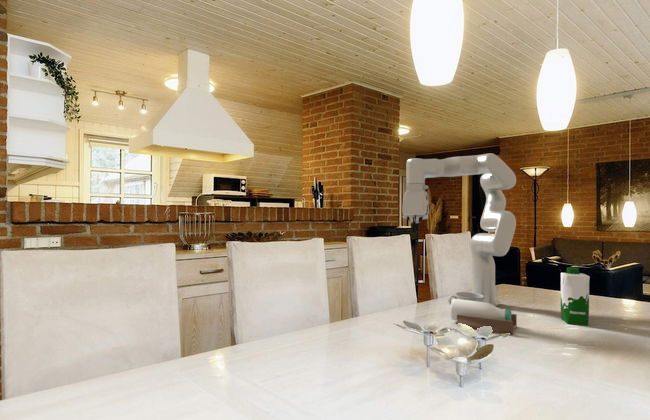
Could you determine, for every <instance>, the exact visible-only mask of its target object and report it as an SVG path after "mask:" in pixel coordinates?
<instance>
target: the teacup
mask: <svg viewBox="0 0 650 420" xmlns="http://www.w3.org/2000/svg"><path fill="white" fill-rule="evenodd" d="M483 297H484V296H483V295H481V294H478V293H473V292H470V291H457V292H455V294H451V295H449V296H448V298H447V301H448V304H449V305H450V306H451V303H452V299H453V298H454V299H460V300H470V301H479V302H483Z"/></svg>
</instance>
